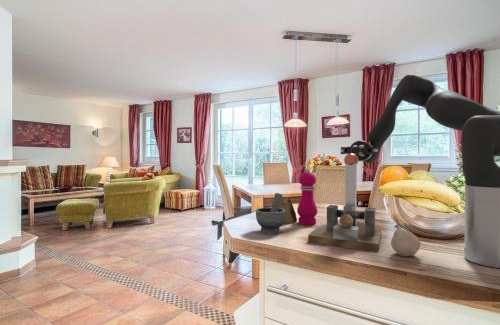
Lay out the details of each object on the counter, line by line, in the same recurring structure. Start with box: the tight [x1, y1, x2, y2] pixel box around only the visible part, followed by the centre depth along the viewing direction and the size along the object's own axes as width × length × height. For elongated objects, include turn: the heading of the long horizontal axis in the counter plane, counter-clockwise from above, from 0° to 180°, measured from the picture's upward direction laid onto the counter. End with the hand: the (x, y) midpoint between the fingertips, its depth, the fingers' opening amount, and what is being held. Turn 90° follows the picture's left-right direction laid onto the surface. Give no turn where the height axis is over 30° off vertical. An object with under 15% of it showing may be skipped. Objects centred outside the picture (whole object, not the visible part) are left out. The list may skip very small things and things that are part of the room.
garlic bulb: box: [390, 223, 421, 257], centre depth 70 cm, size 7×6×8 cm
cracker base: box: [307, 204, 382, 252], centre depth 84 cm, size 18×16×9 cm
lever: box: [337, 153, 365, 227], centre depth 83 cm, size 8×8×22 cm
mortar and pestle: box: [255, 192, 286, 235], centre depth 93 cm, size 11×9×12 cm
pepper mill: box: [296, 168, 318, 226], centre depth 105 cm, size 7×7×20 cm
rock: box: [279, 197, 298, 224], centre depth 108 cm, size 10×8×10 cm
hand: (355, 149), depth 94 cm, fingers closed
